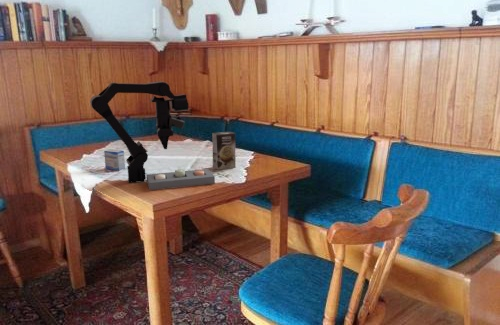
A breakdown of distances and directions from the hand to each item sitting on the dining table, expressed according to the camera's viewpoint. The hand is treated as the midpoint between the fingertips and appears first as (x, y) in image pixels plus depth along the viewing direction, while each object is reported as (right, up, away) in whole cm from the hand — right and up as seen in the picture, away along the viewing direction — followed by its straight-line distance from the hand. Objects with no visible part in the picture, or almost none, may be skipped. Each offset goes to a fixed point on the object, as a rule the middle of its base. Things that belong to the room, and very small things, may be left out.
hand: (165, 149), depth 181 cm
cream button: (0, -14, -8) cm, 16 cm away
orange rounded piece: (+15, -12, -3) cm, 20 cm away
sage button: (+7, -12, -6) cm, 15 cm away
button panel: (+7, -14, -5) cm, 17 cm away
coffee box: (+24, -8, +17) cm, 30 cm away
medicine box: (-26, -9, +16) cm, 32 cm away
